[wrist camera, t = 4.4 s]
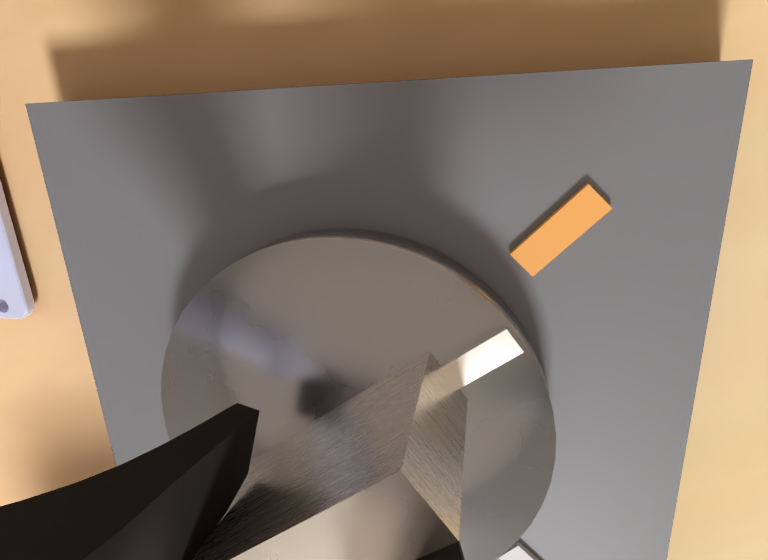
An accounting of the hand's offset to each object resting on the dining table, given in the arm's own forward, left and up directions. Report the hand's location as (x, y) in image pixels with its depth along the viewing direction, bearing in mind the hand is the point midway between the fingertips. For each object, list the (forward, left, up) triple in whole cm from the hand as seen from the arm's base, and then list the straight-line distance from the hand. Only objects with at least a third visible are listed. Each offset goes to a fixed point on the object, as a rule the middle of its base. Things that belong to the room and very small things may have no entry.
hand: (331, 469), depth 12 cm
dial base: (0, 0, -4) cm, 4 cm away
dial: (0, 0, -3) cm, 3 cm away
